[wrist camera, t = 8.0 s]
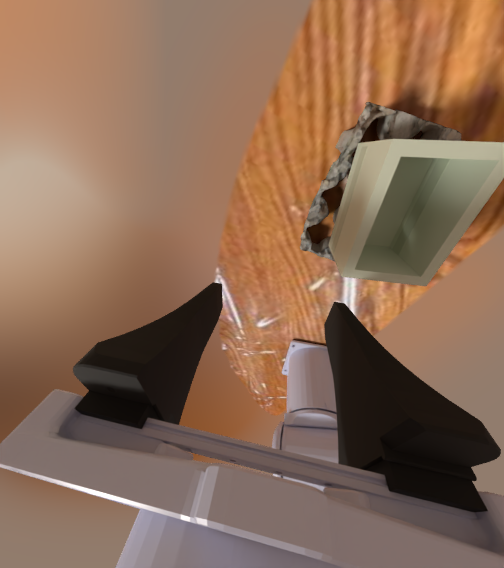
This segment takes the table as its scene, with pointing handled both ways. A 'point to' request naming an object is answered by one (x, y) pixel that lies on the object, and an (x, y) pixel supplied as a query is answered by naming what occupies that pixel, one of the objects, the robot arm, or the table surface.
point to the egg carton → (387, 128)
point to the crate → (411, 206)
